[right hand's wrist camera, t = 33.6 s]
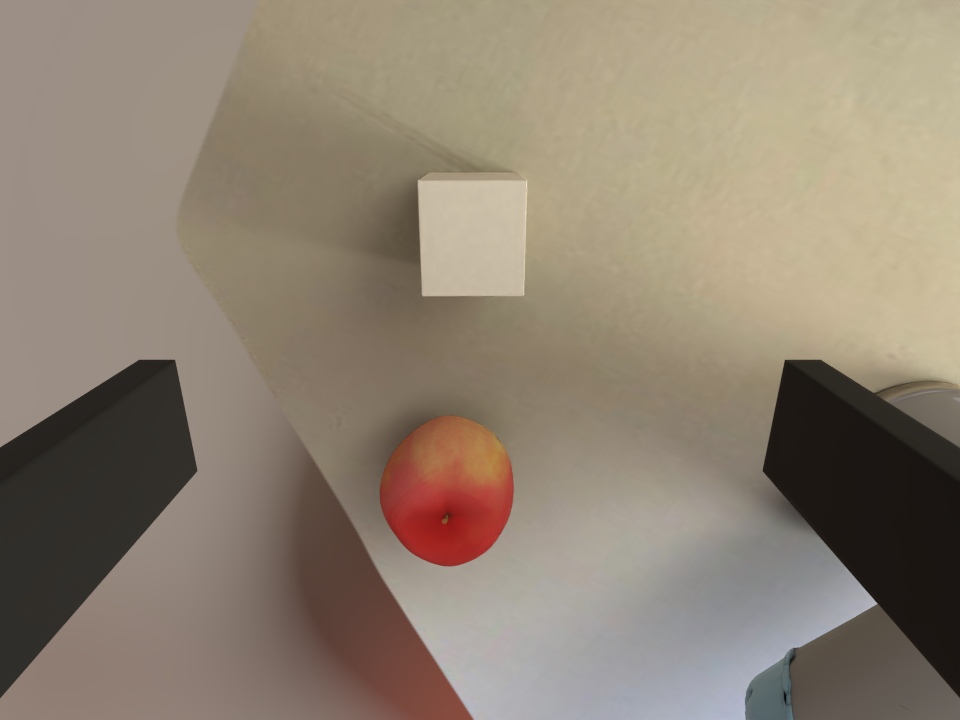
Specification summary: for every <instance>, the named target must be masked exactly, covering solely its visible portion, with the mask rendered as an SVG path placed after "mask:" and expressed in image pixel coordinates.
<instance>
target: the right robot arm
mask: <svg viewBox="0 0 960 720" xmlns="http://www.w3.org/2000/svg"><path fill="white" fill-rule="evenodd" d="M196 472H197V467H196V462H195V457H194V452H193V447H192V442H191V437H190V432H189V427H188V422H187V417H186V412H185V407H184V402H183V397H182V392H181V387H180V382H179V377H178V372H177V367H176V362H175V360H138V361H137V362H135V363H134V364H132V365H130V366H129V367H127V368H126V369H124V370H122V371H121V372H119V373H118V374H116V375H115V376H113V377H111V378H110V379H108V380H107V381H105V382H103V383H102V384H100V385H99V386H97V387H95V388H94V389H92V390H91V391H89V392H88V393H86V394H84V395H83V396H81V397H80V398H78V399H76V400H75V401H73V402H72V403H70V404H68V405H67V406H65V407H64V408H62V409H61V410H59V411H57V412H56V413H54V414H53V415H51V416H49V417H48V418H46V419H45V420H43V421H41V422H40V423H38V424H37V425H35V426H34V427H32V428H30V429H29V430H27V431H26V432H24V433H23V434H21V435H19V436H18V437H16V438H15V439H13V440H11V441H10V442H8V443H7V444H5V445H3V446H2V447H0V698H1V697H2V696H3V694H4V693H5V692H6V691H7V690H8V689H9V687H10V686H11V685H12V684H13V683H14V682H15V681H16V679H17V678H18V677H19V676H20V675H21V674H22V672H23V671H24V670H25V669H26V668H27V667H28V666H29V664H30V663H31V662H32V661H33V660H34V659H35V658H36V656H37V655H38V654H39V653H40V652H41V651H42V649H43V648H44V647H45V646H46V645H47V644H48V643H49V641H50V640H51V639H52V638H53V637H54V636H55V634H56V633H57V632H58V631H59V630H60V629H61V628H62V626H63V625H64V624H65V623H66V622H67V621H68V619H69V618H70V617H71V616H72V615H73V614H74V613H75V611H76V610H77V609H78V608H79V607H80V606H81V604H82V603H83V602H84V601H85V600H86V599H87V598H88V596H89V595H90V594H91V593H92V592H93V591H94V589H95V588H96V587H97V586H98V585H99V584H100V583H101V581H102V580H103V579H104V578H105V577H106V576H107V575H108V573H109V572H110V571H111V570H112V569H113V568H114V566H115V565H116V564H117V563H118V562H119V561H120V560H121V558H122V557H123V556H124V555H125V554H126V553H127V551H128V550H129V549H130V548H131V547H132V546H133V545H134V543H135V542H136V541H137V540H138V539H139V538H140V537H141V535H142V534H143V533H144V532H145V531H146V530H147V528H148V527H149V526H150V525H151V524H152V523H153V521H154V520H155V519H156V518H157V517H158V516H159V515H160V513H161V512H162V511H163V510H164V509H165V508H166V507H167V505H168V504H169V503H170V502H171V501H172V500H173V498H174V497H175V496H176V495H177V494H178V493H179V492H180V490H181V489H182V488H183V487H184V486H185V485H186V484H187V482H188V481H189V480H190V479H191V478H192V477H193V475H194V474H195V473H196ZM763 472H764V473H765V474H766V475H767V477H768V478H769V479H770V480H771V481H772V482H773V484H774V485H775V486H776V487H777V488H778V489H779V490H780V492H781V493H782V494H783V495H784V496H785V497H786V498H787V500H788V501H789V502H790V503H791V504H792V505H793V507H794V508H795V509H796V510H797V511H798V512H799V513H800V515H801V516H802V517H803V518H804V519H805V520H806V522H807V523H808V524H809V525H810V526H811V527H812V528H813V530H814V531H815V532H816V533H817V534H818V535H819V537H820V538H821V539H822V540H823V541H824V542H825V543H826V545H827V546H828V547H829V548H830V549H831V550H832V551H833V553H834V554H835V555H836V556H837V557H838V558H839V560H840V561H841V562H842V563H843V564H844V565H845V566H846V568H847V569H848V570H849V571H850V572H851V573H852V575H853V576H854V577H855V578H856V579H857V580H858V581H859V583H860V584H861V585H862V586H863V587H864V588H865V590H866V591H867V592H868V593H869V594H870V595H871V596H872V598H873V599H874V600H875V601H876V602H877V603H878V604H877V605H875V606H874V607H872V608H870V609H868V610H867V611H865V612H863V613H861V614H860V615H858V616H856V617H854V618H853V619H851V620H849V621H847V622H846V623H844V624H842V625H840V626H838V627H836V628H835V629H833V630H831V631H829V632H827V633H826V634H824V635H822V636H820V637H818V638H816V639H815V640H813V641H811V642H809V643H807V644H806V645H804V646H802V647H800V648H799V647H798V648H793V649H791V650H789V651H788V652H787V654H786V655H785V657H784V658H783V659H782V660H780V661H779V662H777V663H776V664H774V665H773V666H771V667H770V668H768V669H767V670H765V671H763V672H762V673H760V674H759V675H757V676H756V677H755V678H754V679H753V680H752V681H751V683H750V684H749V686H748V689H747V692H746V698H745V706H746V708H745V709H746V711H745V715H746V720H960V386H958V385H954V384H950V383H945V382H934V381H926V382H915V383H908V384H904V385H899V386H896V387H893V388H890V389H887V390H885V391H882V392H880V393H878V394H874V393H872V392H871V391H869V390H868V389H866V388H865V387H863V386H861V385H860V384H858V383H857V382H855V381H853V380H852V379H850V378H849V377H847V376H845V375H844V374H842V373H841V372H839V371H838V370H836V369H834V368H833V367H831V366H830V365H828V364H826V363H825V362H823V361H822V360H785V362H784V367H783V372H782V377H781V382H780V387H779V392H778V397H777V402H776V407H775V412H774V417H773V422H772V427H771V432H770V437H769V442H768V447H767V452H766V457H765V462H764V467H763Z"/></svg>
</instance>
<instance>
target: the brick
mask: <svg viewBox="0 0 960 720" xmlns="http://www.w3.org/2000/svg"><path fill="white" fill-rule="evenodd" d="M417 187H418V213H419V238H420V264H421V290H422V296H524V273H525V237H526V200H527V180H526V179H524V178H523V177H522V176H520V175H519V174H518V173H517V172H429V173H428V174H426V175H425V176H423V177H422V178H421V179H419V180H418V181H417Z"/></svg>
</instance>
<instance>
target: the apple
mask: <svg viewBox="0 0 960 720" xmlns="http://www.w3.org/2000/svg"><path fill="white" fill-rule="evenodd" d="M513 491H514V485H513V474H512V468H511V463H510V460H509V456H508V454H507V451H506V449H505V448H504V446H503V445H502V443H501V442H500V441H499V439H498V438H497V437H496V436H495V435H494V434H493V433H492V432H491V431H489V430H488V429H487V428H485V427H484V426H482V425H480V424H478V423H476V422H474V421H471V420H469V419H466V418H463V417H458V416H441V417H437V418H434V419H432V420H430V421H428V422H426V423H425V424H423V425H421V426H420V427H419V428H417V429H416V430H414V431H413V432H412V433H411V434H410V435H409V436H407V437H406V438H405V439H404V440H403V442H402V443H401V444H400V445H399V446H398V447H397V449H396V450H395V451H394V453H393V454H392V456H391V458H390V459H389V461H388V463H387V465H386V468H385V470H384V473H383V476H382V480H381V486H380V502H381V507H382V511H383V514H384V516H385V519H386V521H387V523H388V524H389V526H390V528H391V529H392V531H393V532H394V534H395V535H396V536H397V538H398V539H399V540H400V542H401V543H402V544H403V545H404V546H405V547H406V548H407V549H408V550H409V551H410V552H411V553H413V554H414V555H416V556H418V557H419V558H421V559H423V560H426V561H428V562H431V563H433V564H437V565H441V566H457V565H461V564H464V563H466V562H469V561H471V560H473V559H475V558H477V557H479V556H480V555H482V554H483V553H485V552H486V551H487V550H488V549H489V548H490V547H491V546H492V545H493V544H494V543H495V541H496V540H497V539H498V537H499V535H500V534H501V532H502V530H503V529H504V527H505V525H506V523H507V521H508V518H509V515H510V512H511V508H512V503H513Z"/></svg>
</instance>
